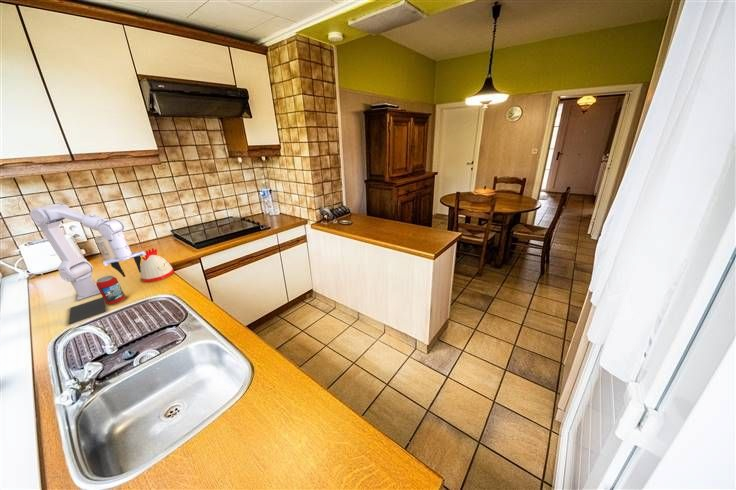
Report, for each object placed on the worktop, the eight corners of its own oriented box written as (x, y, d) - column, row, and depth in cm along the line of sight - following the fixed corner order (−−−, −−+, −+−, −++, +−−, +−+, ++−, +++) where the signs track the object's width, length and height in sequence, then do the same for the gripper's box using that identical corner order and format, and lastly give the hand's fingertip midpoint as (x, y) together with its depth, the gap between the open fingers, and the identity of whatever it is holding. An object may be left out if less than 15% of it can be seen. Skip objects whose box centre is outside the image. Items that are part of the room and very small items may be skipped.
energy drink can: (119, 257, 170) (109, 235, 164) (109, 261, 164) (98, 238, 159) (112, 256, 171) (102, 235, 165) (102, 260, 166) (91, 238, 160)
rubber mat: (71, 308, 118) (70, 307, 118) (104, 297, 125) (103, 296, 125) (69, 324, 107) (68, 323, 107) (105, 311, 114) (105, 310, 114)
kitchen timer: (179, 269, 148) (170, 245, 142) (157, 282, 136) (146, 256, 130) (158, 268, 151) (148, 244, 145) (135, 281, 138) (123, 255, 132)
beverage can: (114, 306, 117) (102, 282, 113) (102, 305, 119) (90, 282, 114) (129, 297, 124) (119, 275, 119) (118, 296, 125) (107, 274, 120)
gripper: (98, 255, 110) (112, 283, 116) (141, 244, 119) (152, 270, 125) (97, 250, 115) (111, 277, 120) (139, 240, 124) (150, 266, 129)
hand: (132, 273), depth 123 cm, fingers open, 5 cm apart
